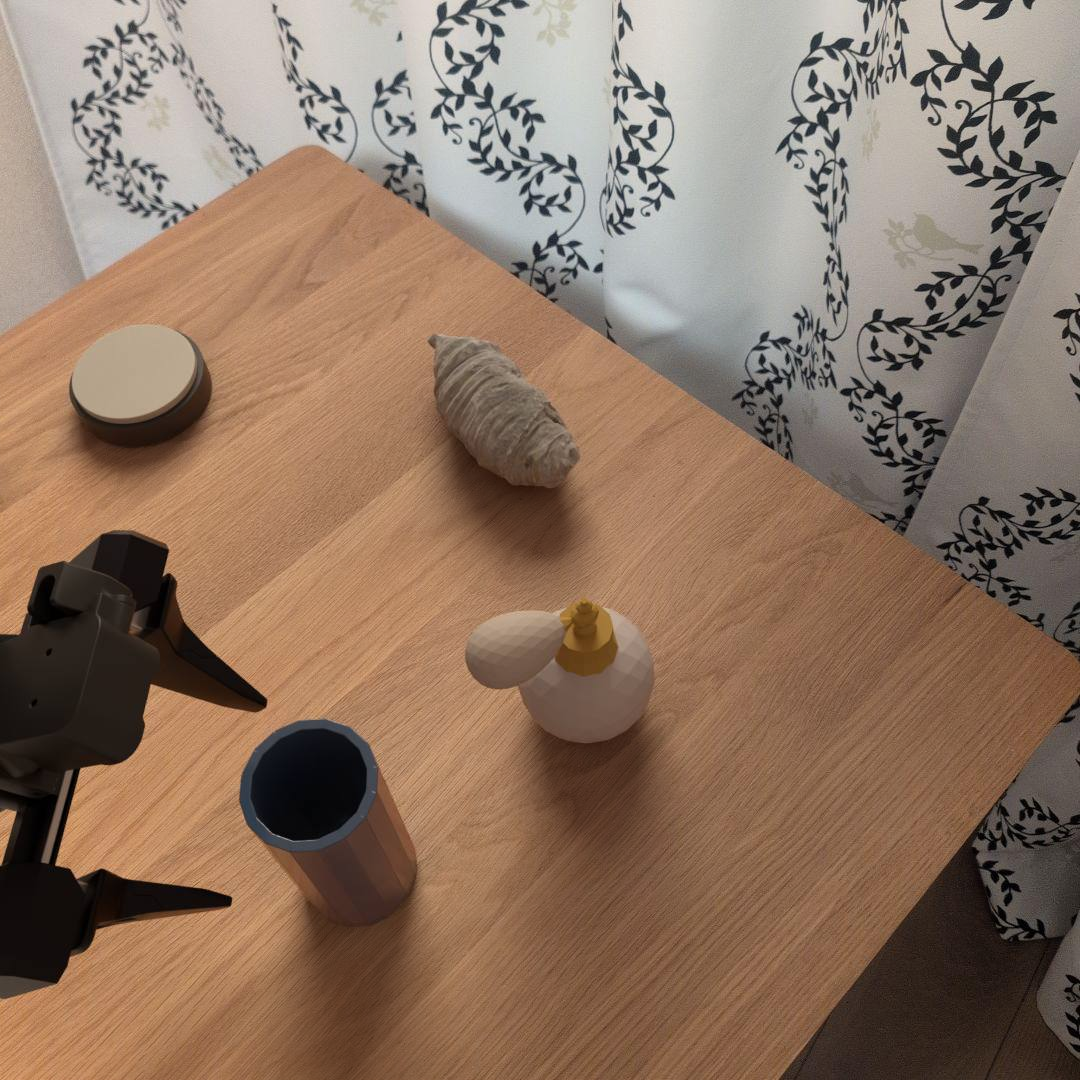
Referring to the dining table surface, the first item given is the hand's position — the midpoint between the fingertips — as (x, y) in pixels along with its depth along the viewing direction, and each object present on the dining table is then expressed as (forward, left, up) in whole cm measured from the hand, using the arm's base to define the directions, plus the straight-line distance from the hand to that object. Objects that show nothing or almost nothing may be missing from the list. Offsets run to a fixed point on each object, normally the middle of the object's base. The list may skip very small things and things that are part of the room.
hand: (246, 800), depth 52 cm
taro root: (+21, +21, -11) cm, 32 cm away
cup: (+3, -2, -10) cm, 11 cm away
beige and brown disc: (+1, +35, -10) cm, 37 cm away
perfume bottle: (+17, +1, -11) cm, 20 cm away
